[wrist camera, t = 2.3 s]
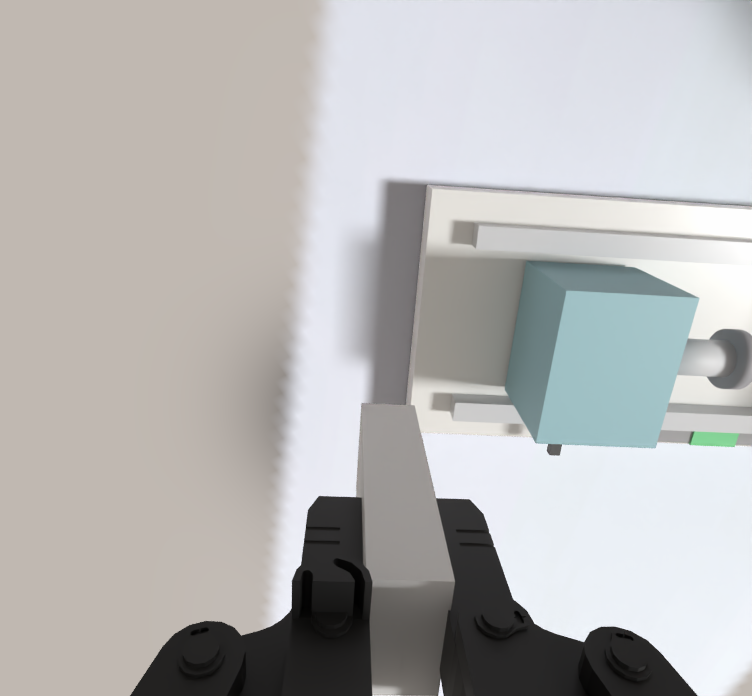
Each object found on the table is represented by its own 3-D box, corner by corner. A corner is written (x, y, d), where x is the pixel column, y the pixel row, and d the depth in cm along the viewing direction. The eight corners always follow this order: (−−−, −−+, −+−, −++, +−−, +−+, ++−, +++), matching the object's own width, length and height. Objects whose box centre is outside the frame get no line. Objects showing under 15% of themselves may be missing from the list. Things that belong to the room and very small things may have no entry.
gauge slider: (526, 260, 24) (566, 290, 20) (719, 272, 25) (803, 303, 20) (496, 437, 28) (524, 498, 23) (667, 444, 28) (729, 505, 23)
